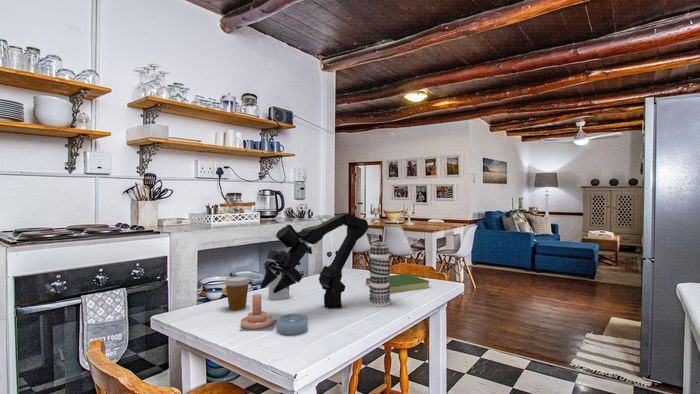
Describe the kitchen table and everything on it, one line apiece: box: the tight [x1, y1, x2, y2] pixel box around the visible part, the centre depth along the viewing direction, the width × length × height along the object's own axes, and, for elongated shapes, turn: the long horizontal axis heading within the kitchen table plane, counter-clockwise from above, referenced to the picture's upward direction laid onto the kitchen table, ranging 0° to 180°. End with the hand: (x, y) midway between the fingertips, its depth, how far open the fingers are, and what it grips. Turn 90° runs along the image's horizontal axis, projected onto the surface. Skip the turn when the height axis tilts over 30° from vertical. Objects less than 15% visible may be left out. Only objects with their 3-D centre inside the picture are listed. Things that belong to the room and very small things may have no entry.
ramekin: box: [276, 313, 309, 337], centre depth 125 cm, size 10×10×4 cm
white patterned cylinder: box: [367, 241, 392, 307], centre depth 155 cm, size 9×9×25 cm
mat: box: [239, 318, 278, 332], centre depth 130 cm, size 11×11×1 cm
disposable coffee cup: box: [224, 275, 251, 311], centre depth 149 cm, size 10×10×12 cm
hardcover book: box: [365, 273, 430, 294], centre depth 183 cm, size 25×19×4 cm
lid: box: [240, 293, 274, 330], centre depth 131 cm, size 11×11×10 cm
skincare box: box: [268, 273, 290, 301], centre depth 165 cm, size 8×6×15 cm
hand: (267, 290), depth 133 cm, fingers open, 9 cm apart
